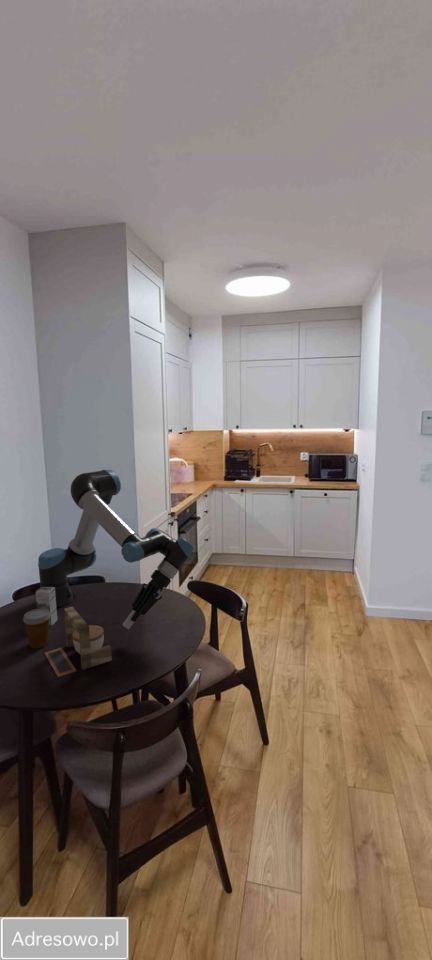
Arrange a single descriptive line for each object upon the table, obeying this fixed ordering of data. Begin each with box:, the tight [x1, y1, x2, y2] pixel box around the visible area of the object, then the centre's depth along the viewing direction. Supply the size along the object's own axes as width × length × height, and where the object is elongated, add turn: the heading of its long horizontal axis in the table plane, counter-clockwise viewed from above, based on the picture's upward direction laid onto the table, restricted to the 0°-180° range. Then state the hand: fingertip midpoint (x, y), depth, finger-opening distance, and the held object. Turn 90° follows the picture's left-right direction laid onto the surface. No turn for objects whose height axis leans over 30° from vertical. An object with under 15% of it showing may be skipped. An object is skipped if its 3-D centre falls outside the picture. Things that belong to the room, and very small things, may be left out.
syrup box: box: [35, 587, 58, 627], centre depth 183 cm, size 6×6×14 cm
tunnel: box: [63, 606, 113, 671], centre depth 159 cm, size 19×10×14 cm, turn 34°
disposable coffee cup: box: [22, 608, 51, 649], centre depth 166 cm, size 10×10×12 cm
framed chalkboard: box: [44, 647, 77, 678], centre depth 155 cm, size 18×6×1 cm, turn 34°
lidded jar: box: [72, 624, 105, 655], centre depth 160 cm, size 11×11×9 cm
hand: (125, 627), depth 167 cm, fingers closed
